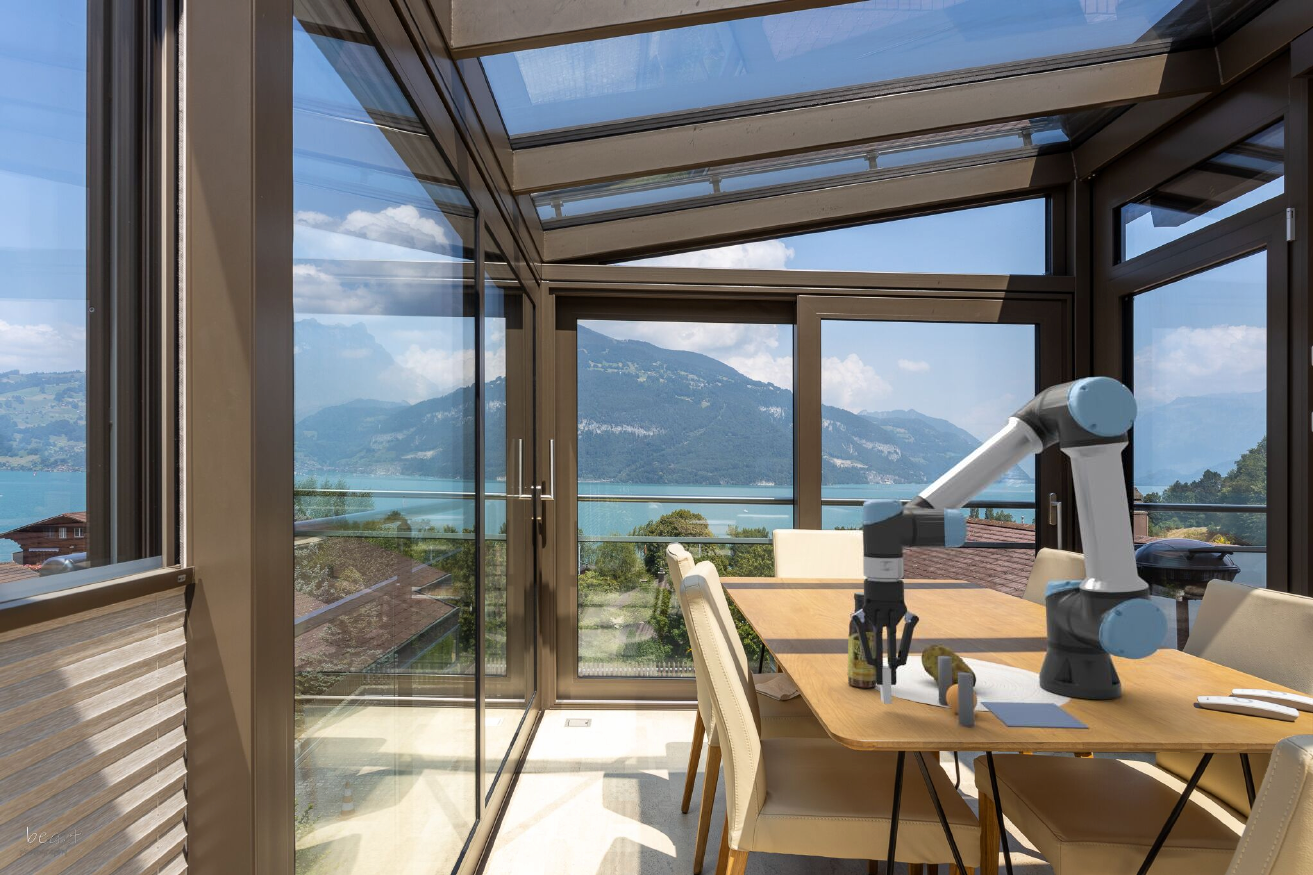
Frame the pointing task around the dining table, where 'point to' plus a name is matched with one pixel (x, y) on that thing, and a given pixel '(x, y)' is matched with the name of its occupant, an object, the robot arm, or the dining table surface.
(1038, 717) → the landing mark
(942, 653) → the potato
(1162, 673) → the dining table surface
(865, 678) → the sauce bottle
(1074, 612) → the robot arm
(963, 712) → the post
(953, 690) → the ball
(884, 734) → the dining table surface
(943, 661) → the post
